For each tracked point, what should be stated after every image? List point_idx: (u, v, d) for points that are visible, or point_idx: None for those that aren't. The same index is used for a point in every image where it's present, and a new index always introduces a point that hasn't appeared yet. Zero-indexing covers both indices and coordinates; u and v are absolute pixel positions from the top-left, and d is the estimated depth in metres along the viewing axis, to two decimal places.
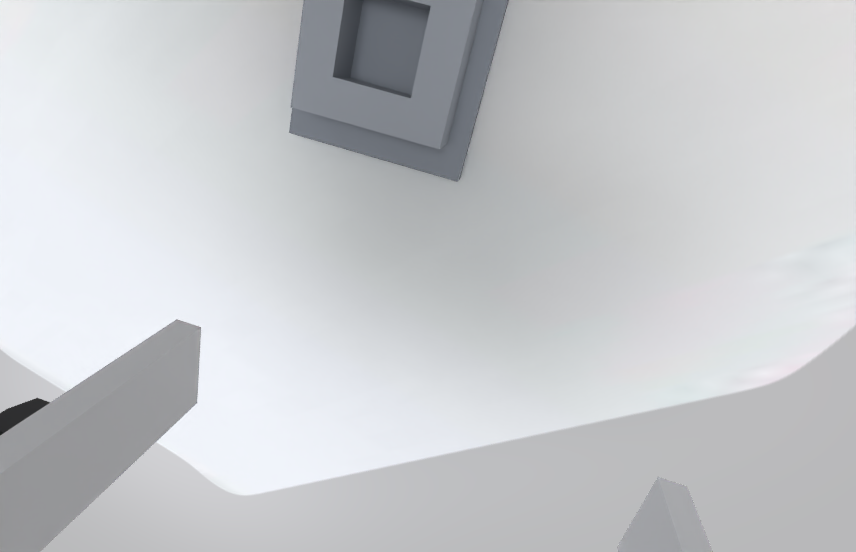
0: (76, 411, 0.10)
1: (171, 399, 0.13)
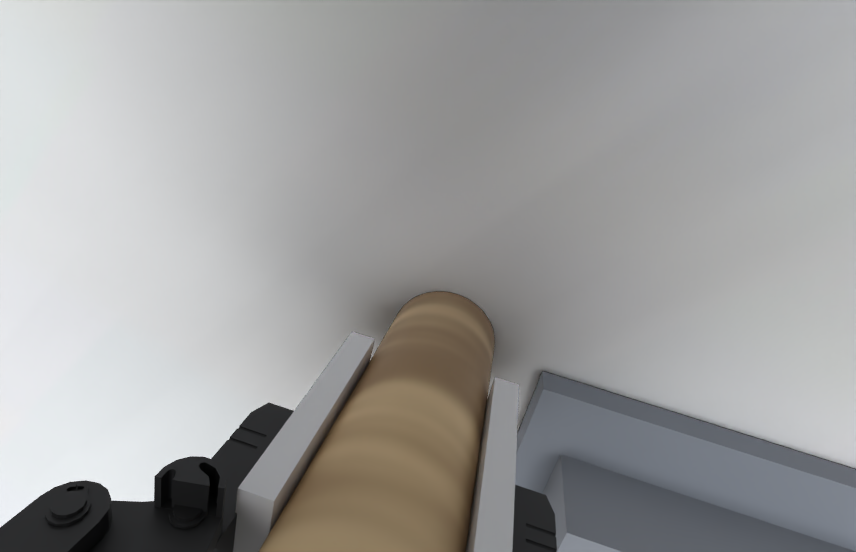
0: (320, 414, 0.12)
1: None
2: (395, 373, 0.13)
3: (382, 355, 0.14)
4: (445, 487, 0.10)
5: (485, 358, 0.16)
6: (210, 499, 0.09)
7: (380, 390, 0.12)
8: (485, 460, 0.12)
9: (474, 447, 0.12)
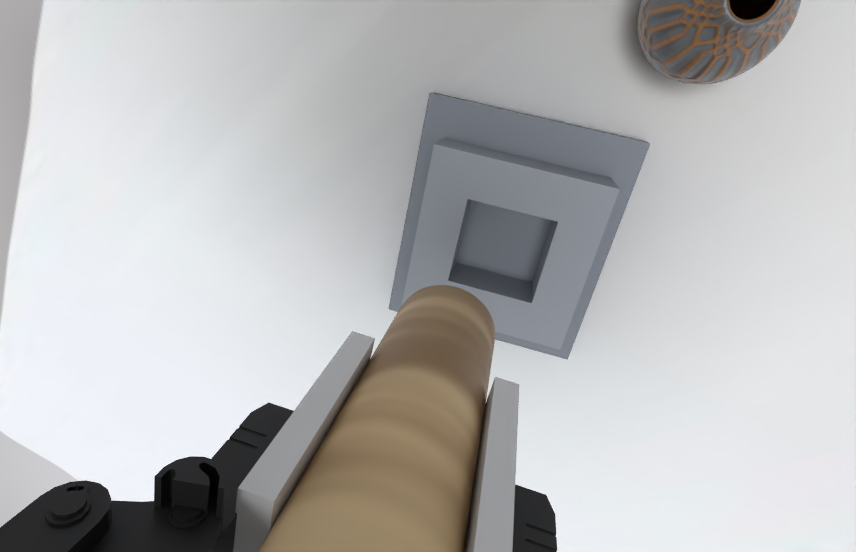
0: (320, 414, 0.12)
1: None
2: (400, 360, 0.14)
3: (388, 344, 0.15)
4: (448, 465, 0.11)
5: (486, 348, 0.16)
6: (210, 499, 0.09)
7: (385, 376, 0.13)
8: (485, 460, 0.12)
9: (475, 431, 0.13)
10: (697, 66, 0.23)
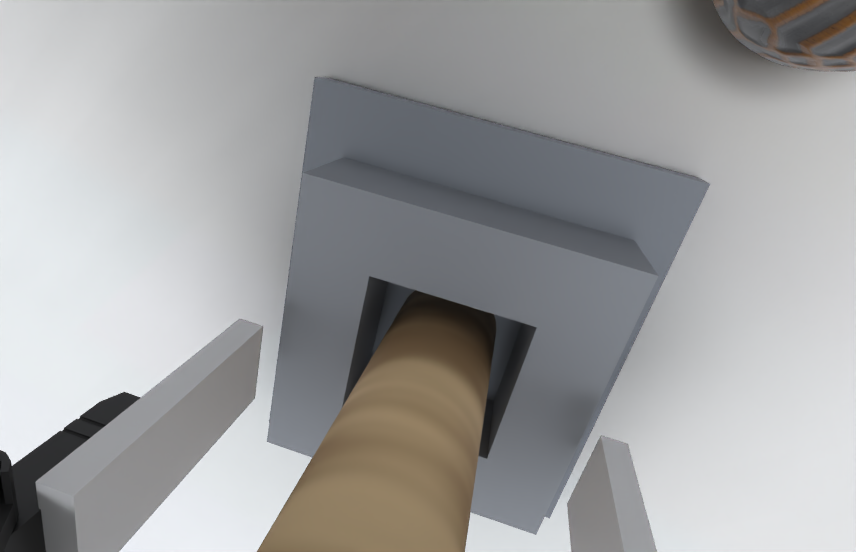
0: (167, 403, 0.11)
1: (236, 394, 0.14)
2: (404, 352, 0.14)
3: (392, 337, 0.15)
4: (452, 450, 0.11)
5: (487, 342, 0.17)
6: None
7: (390, 367, 0.13)
8: (623, 548, 0.10)
9: (477, 419, 0.13)
10: None
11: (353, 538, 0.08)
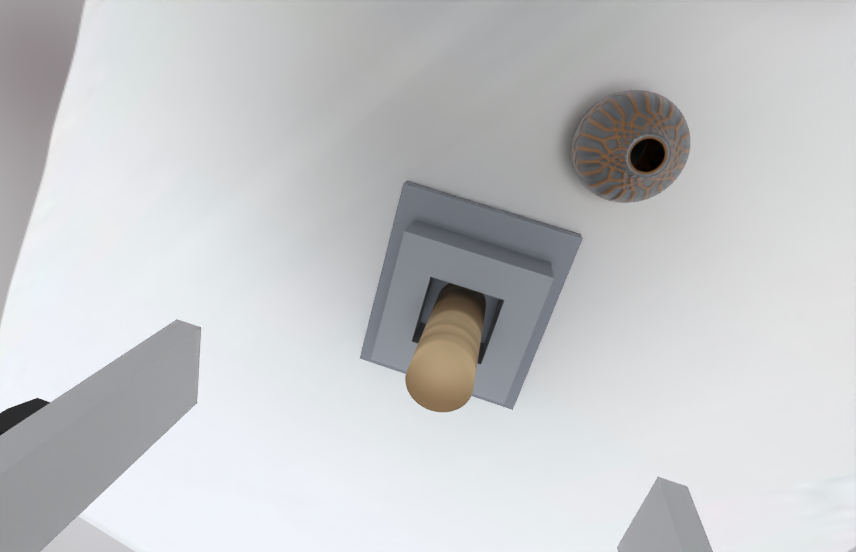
0: (76, 411, 0.10)
1: (171, 399, 0.13)
2: (448, 308, 0.33)
3: (441, 304, 0.35)
4: (471, 339, 0.31)
5: (482, 308, 0.36)
6: None
7: (444, 313, 0.33)
8: None
9: (479, 335, 0.33)
10: (612, 193, 0.30)
11: (445, 351, 0.28)
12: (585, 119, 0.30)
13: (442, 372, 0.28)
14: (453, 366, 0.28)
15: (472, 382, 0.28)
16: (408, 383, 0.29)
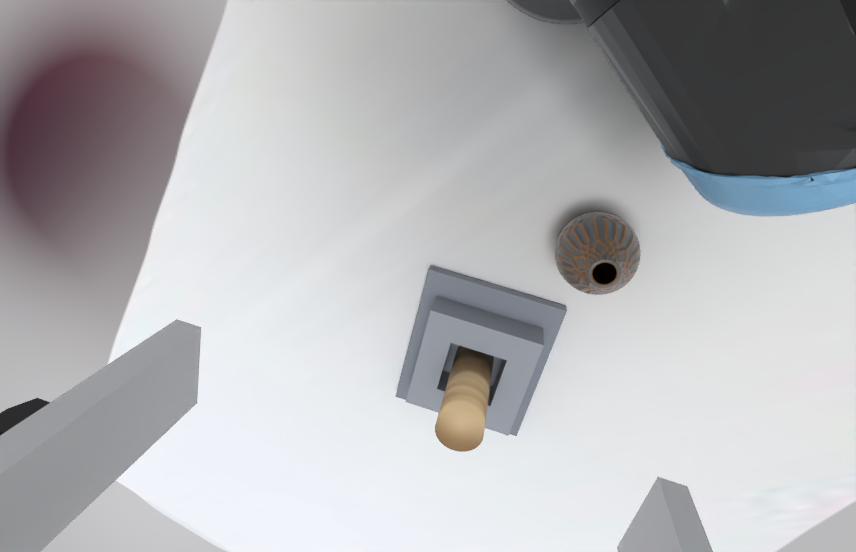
0: (76, 411, 0.10)
1: (171, 399, 0.13)
2: (465, 369, 0.45)
3: (459, 363, 0.46)
4: (481, 396, 0.42)
5: (490, 364, 0.48)
6: None
7: (461, 374, 0.44)
8: None
9: (488, 389, 0.44)
10: (583, 291, 0.41)
11: (463, 410, 0.39)
12: (563, 235, 0.41)
13: (461, 425, 0.39)
14: (469, 420, 0.39)
15: (482, 431, 0.39)
16: (437, 431, 0.40)
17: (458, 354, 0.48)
